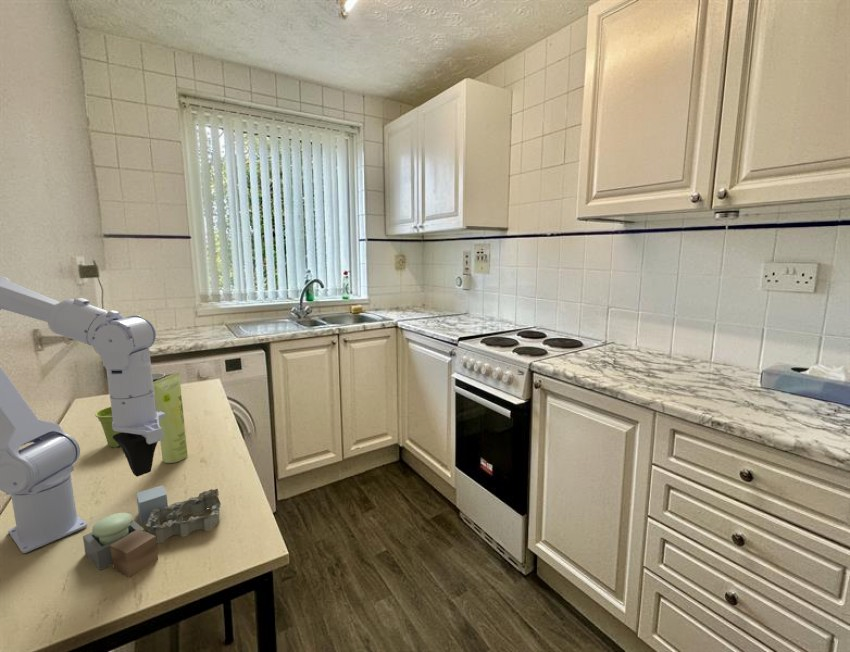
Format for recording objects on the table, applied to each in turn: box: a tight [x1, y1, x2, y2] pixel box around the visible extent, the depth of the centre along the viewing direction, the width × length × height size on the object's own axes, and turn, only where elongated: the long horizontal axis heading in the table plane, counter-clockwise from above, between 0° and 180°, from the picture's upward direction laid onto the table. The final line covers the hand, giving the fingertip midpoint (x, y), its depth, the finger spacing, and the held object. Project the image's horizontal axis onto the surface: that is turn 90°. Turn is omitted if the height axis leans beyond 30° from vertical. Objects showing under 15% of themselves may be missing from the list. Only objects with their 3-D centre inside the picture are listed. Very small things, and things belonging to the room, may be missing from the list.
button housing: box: [82, 519, 145, 571], centre depth 63 cm, size 6×6×3 cm
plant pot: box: [94, 406, 121, 448], centre depth 101 cm, size 9×9×9 cm
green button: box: [92, 512, 133, 546], centre depth 63 cm, size 5×5×4 cm
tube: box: [153, 371, 188, 464], centre depth 91 cm, size 6×5×20 cm
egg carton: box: [145, 488, 222, 544], centre depth 69 cm, size 11×8×4 cm
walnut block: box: [110, 529, 159, 579], centre depth 60 cm, size 4×4×4 cm
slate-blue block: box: [136, 484, 169, 525], centre depth 72 cm, size 4×4×4 cm
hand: (142, 473), depth 67 cm, fingers closed
